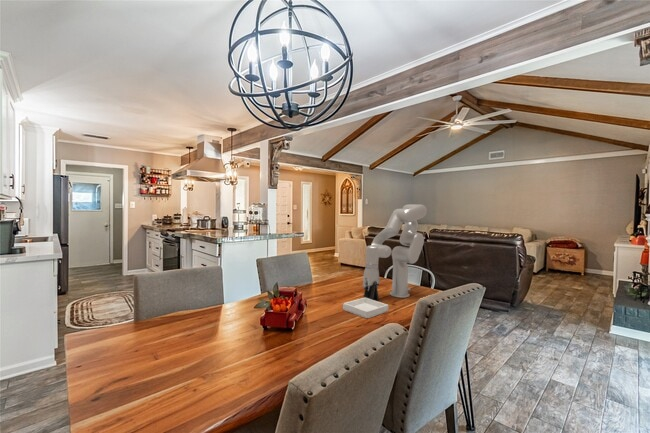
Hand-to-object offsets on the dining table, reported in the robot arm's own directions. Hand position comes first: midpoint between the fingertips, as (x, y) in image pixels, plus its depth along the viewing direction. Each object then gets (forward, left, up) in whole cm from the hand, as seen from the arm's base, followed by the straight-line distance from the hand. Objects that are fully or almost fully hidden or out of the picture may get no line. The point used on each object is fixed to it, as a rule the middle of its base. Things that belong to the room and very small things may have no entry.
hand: (371, 295), depth 182 cm
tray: (+16, +10, -3) cm, 19 cm away
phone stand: (0, 0, -3) cm, 3 cm away
